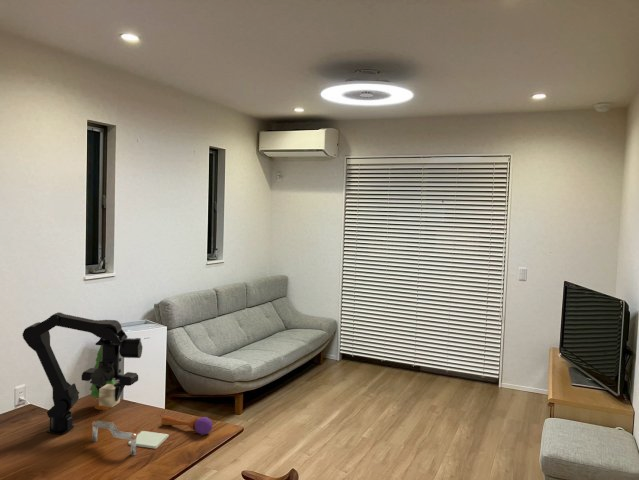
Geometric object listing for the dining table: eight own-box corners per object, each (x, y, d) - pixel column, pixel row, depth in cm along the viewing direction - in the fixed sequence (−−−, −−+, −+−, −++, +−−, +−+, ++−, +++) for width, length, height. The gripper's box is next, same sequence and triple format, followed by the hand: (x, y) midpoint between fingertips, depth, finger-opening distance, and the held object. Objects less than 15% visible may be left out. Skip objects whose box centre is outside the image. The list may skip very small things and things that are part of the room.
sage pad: (128, 444, 170) (128, 442, 170) (142, 432, 179) (142, 430, 179) (155, 448, 169) (155, 446, 169) (168, 436, 178) (168, 434, 178)
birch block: (98, 405, 177) (99, 388, 177) (107, 400, 182) (107, 383, 182) (112, 407, 177) (112, 390, 176) (119, 401, 182) (120, 385, 181)
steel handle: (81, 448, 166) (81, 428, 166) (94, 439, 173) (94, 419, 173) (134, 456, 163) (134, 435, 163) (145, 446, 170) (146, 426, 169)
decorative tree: (98, 413, 193) (99, 336, 191) (84, 407, 198) (85, 331, 196) (120, 405, 201) (122, 331, 199) (106, 399, 207) (107, 327, 204)
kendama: (169, 410, 190) (215, 416, 183) (168, 427, 190) (214, 433, 183) (159, 413, 185) (206, 419, 178) (158, 430, 184) (205, 437, 177)
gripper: (71, 361, 172) (70, 406, 173) (122, 366, 169) (121, 412, 170) (91, 352, 183) (90, 394, 184) (139, 357, 180) (138, 400, 181)
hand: (109, 400), depth 179 cm, fingers closed on birch block, 5 cm apart
